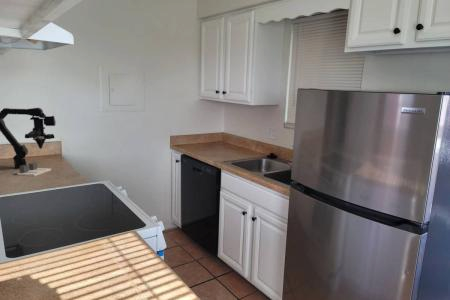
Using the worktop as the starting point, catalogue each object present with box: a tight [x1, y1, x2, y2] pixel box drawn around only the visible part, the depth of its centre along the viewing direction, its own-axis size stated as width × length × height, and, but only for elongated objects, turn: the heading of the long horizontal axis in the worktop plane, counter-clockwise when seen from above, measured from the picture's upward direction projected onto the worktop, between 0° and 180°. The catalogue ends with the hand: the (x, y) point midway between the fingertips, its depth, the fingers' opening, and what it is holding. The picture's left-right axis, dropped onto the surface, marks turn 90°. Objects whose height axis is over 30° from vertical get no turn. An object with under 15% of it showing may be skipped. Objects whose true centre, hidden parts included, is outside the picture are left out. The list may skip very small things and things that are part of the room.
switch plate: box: [16, 167, 52, 177], centre depth 216 cm, size 12×16×1 cm
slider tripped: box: [19, 164, 30, 173], centre depth 212 cm, size 3×4×4 cm
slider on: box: [28, 161, 38, 170], centre depth 220 cm, size 3×4×4 cm
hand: (40, 148), depth 230 cm, fingers closed
